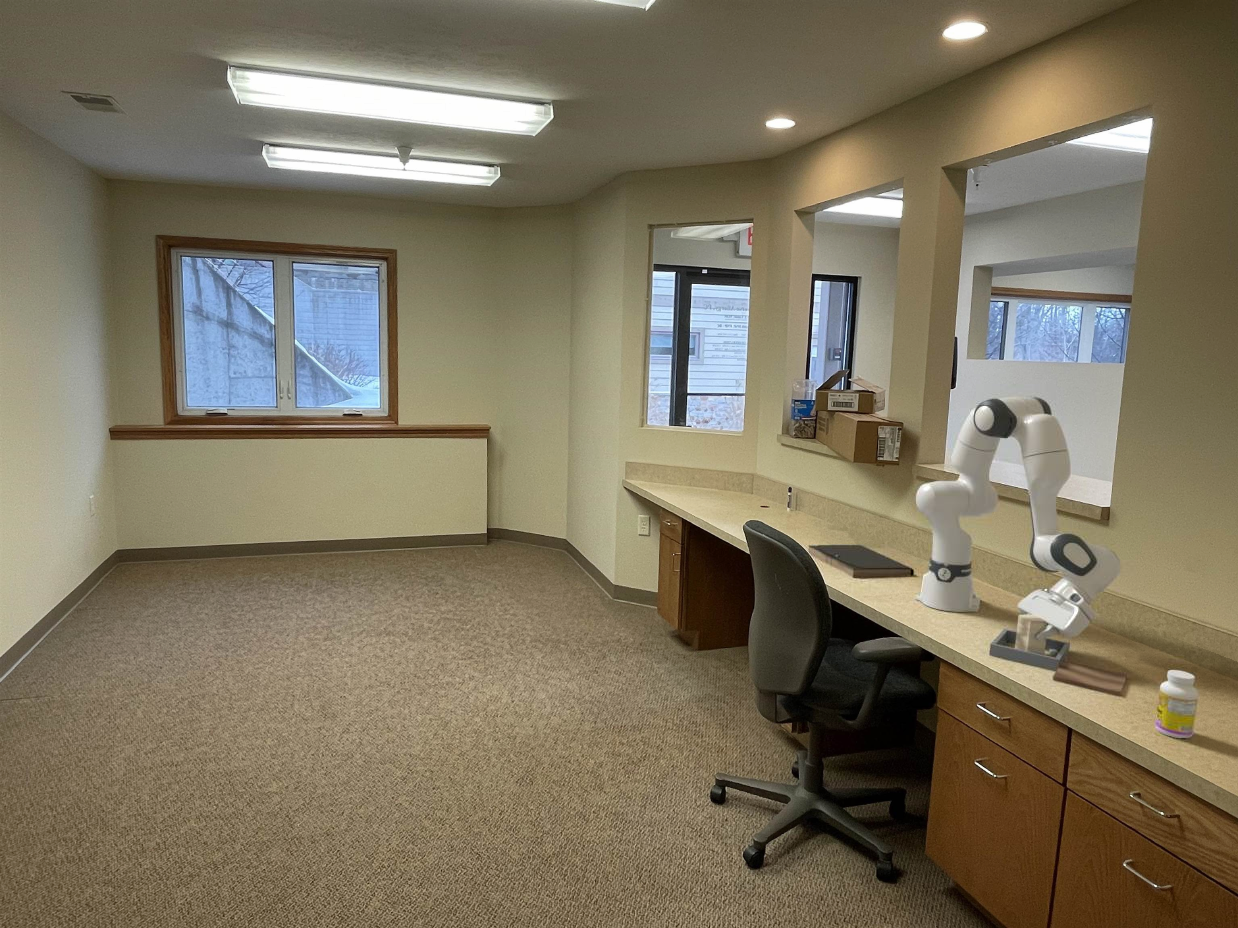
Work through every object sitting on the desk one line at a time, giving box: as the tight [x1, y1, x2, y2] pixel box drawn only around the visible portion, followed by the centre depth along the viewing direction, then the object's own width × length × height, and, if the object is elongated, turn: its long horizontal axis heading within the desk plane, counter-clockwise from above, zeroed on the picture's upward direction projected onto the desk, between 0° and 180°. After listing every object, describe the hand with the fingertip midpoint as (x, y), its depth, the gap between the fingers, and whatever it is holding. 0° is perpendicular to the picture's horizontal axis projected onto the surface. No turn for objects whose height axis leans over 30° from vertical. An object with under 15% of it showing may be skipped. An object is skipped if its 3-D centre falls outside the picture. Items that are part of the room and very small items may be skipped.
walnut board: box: [1052, 659, 1128, 697], centre depth 199 cm, size 14×14×1 cm
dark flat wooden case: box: [808, 544, 915, 579], centre depth 301 cm, size 33×4×24 cm
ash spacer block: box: [1014, 614, 1048, 655], centre depth 214 cm, size 5×5×10 cm
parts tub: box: [989, 628, 1071, 672], centre depth 214 cm, size 16×16×3 cm
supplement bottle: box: [1154, 669, 1199, 739], centre depth 171 cm, size 7×7×13 cm
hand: (1029, 634), depth 214 cm, fingers closed on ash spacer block, 5 cm apart
